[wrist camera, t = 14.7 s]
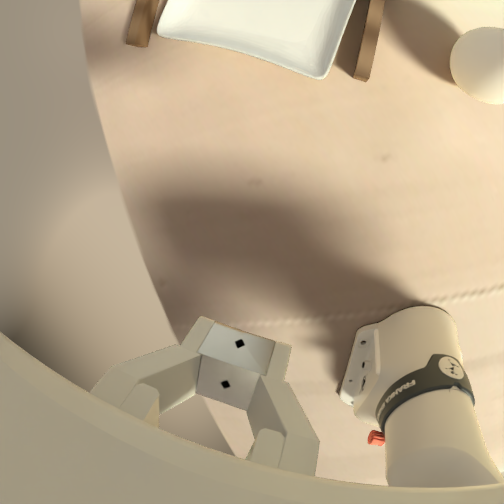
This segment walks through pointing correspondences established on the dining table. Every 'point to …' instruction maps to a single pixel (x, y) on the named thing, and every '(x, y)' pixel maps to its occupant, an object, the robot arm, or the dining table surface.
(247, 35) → the salad plate
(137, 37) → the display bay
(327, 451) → the dining table surface
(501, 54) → the white dust blower
